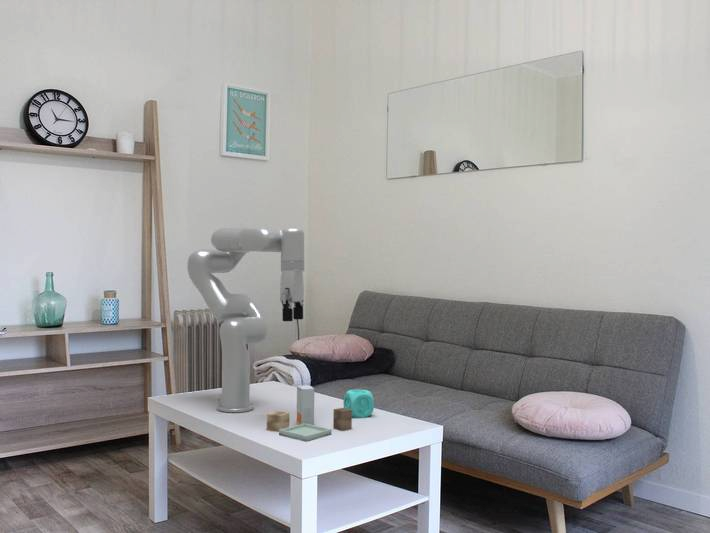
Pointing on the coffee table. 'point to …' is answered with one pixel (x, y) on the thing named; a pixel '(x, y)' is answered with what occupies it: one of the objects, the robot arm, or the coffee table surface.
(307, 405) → the skincare box
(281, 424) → the oak cube
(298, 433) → the tray
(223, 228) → the robot arm
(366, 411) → the decorative dice
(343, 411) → the walnut block
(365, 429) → the coffee table surface
